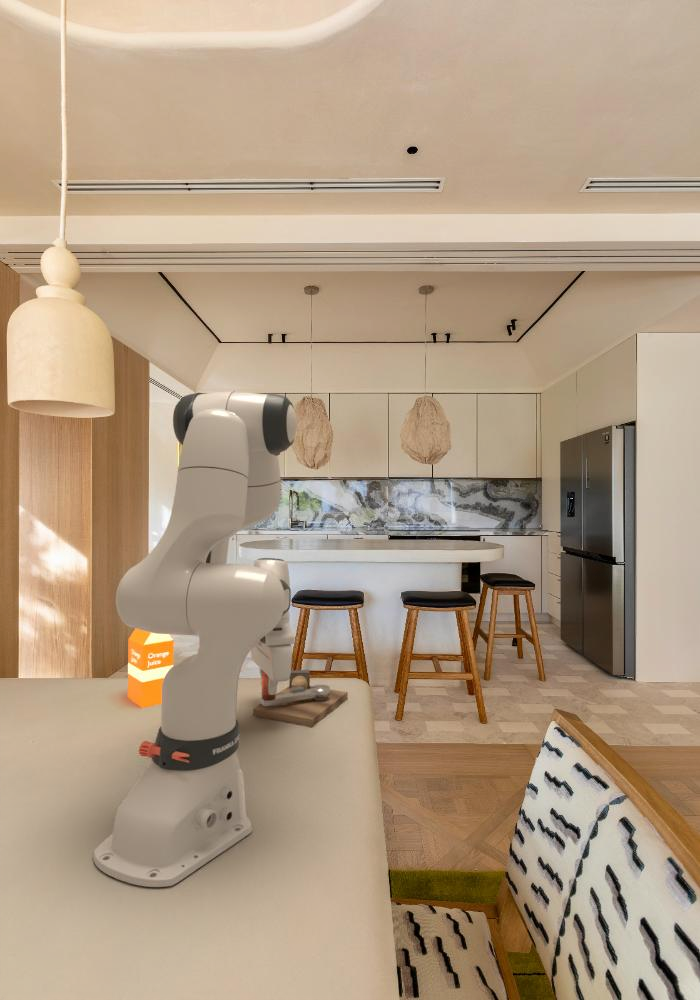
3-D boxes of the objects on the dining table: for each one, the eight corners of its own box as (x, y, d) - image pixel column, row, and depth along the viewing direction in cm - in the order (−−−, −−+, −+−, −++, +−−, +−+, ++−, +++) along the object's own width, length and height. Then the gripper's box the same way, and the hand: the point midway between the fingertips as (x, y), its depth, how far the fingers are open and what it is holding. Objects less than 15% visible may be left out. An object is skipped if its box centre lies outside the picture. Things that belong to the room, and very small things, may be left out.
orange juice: (141, 708, 129) (142, 621, 129) (127, 697, 136) (128, 615, 136) (173, 700, 135) (174, 617, 135) (158, 690, 141) (159, 611, 141)
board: (312, 727, 120) (312, 701, 120) (252, 715, 126) (253, 690, 126) (347, 698, 138) (347, 675, 138) (294, 689, 144) (294, 667, 144)
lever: (265, 709, 124) (265, 675, 124) (257, 701, 129) (257, 668, 129) (332, 697, 132) (333, 665, 132) (322, 690, 137) (323, 659, 137)
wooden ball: (302, 696, 135) (303, 679, 135) (288, 693, 137) (288, 677, 137) (310, 690, 139) (310, 674, 139) (296, 688, 140) (296, 672, 140)
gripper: (245, 621, 135) (244, 678, 135) (268, 640, 117) (267, 706, 116) (270, 619, 138) (269, 675, 138) (297, 637, 119) (296, 702, 119)
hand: (268, 690), depth 127 cm, fingers open, 4 cm apart
